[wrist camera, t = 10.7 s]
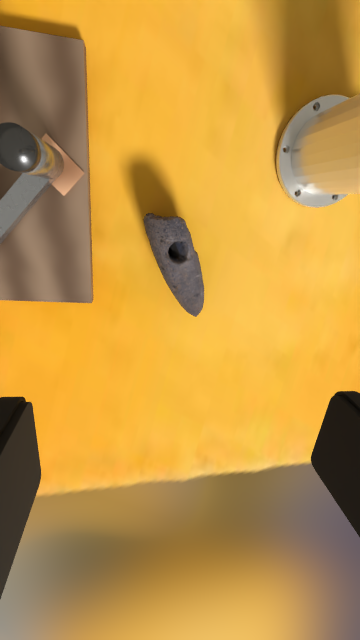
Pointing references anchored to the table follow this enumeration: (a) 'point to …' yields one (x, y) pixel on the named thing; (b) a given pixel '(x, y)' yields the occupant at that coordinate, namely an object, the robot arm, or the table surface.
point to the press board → (68, 189)
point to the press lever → (25, 172)
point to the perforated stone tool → (177, 259)
